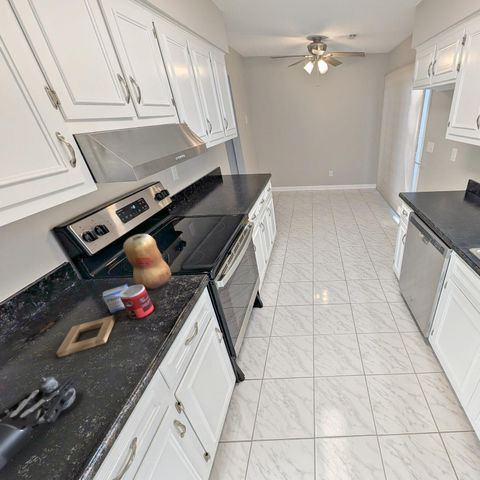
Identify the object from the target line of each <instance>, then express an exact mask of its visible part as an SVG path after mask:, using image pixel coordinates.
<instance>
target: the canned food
mask: <svg viewBox="0 0 480 480" xmlns="http://www.w3.org/2000/svg"><path fill="white" fill-rule="evenodd" d="M119 297H120V299H121V301H122V303H123V305H124V307H125V308H124V309H125V310H126V312H127V314H128V316H129V318H131V320H137V319H141V318H144V317H146V316H148V315H149V314H151V313H152V312H153V310H154V305H153V303H152V300H151V298H150V296H149V294H148V291H147V289H145V287H144V286H143V285H137V284H133V285H131V286H128V288H126V289H124V290H122V291H121V292H120V294H119Z"/></svg>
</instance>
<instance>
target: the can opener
mask: <svg viewBox="0 0 480 480" xmlns="http://www.w3.org/2000/svg"><path fill="white" fill-rule="evenodd" d="M55 323H56V322H55V321H51V322H50V323H48V324H47V325H46V326H45V327H43V328H42V329H41V330H40V331H39V332H38V333H37V334H36V335H34V336H33V337H30V338H29V341H32V339H34V338H38V337H39V336H40V335H41V334H42V333H44V332H45V331H46V330H47V329H49V328H50V327H52V326H53V325H54V324H55Z"/></svg>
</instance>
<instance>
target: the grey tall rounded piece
mask: <svg viewBox="0 0 480 480" xmlns="http://www.w3.org/2000/svg"><path fill="white" fill-rule="evenodd" d="M53 377H54V376H48V377H41V378H40V382H39V383H38V385H37V388H38V390H39V389H40V390H41V391H42V392H43V397H44V398H47V397H48V396H50V395H51V394H52V393H53V392H55V391H56V389H57V388H58V387H59V386H60V385H61V384H62V383H61V382H59V383H58V382H57V381H56V380H55V379H54V378H53ZM65 396H66V397H67V399H68V401H67V403H66V404H65V406H64V407H63V409H62V411H64V410H67V409H68V408H70V407H71V405H72V404H73V403H74V401H75V399H76V390H75V388H73V387H71V388H70V390H69V391H68V392H67V393H66V394H65ZM54 400H55V397H54V398H53V399H52V400H51V401H50V403H51V402H53V401H54ZM59 403H60V402H59ZM44 408H45V409H46V406H45V405H44Z"/></svg>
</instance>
